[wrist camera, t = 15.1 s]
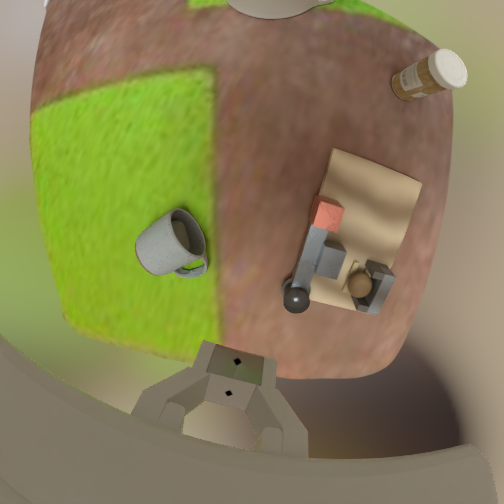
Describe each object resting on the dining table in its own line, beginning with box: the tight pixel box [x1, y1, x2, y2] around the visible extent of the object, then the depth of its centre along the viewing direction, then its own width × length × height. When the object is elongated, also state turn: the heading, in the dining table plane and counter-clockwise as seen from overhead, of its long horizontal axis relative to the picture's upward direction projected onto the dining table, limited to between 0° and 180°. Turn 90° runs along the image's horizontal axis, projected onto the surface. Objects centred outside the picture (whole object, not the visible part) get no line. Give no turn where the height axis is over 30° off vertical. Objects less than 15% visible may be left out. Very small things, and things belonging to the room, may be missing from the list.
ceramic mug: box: [135, 208, 208, 278], centre depth 37 cm, size 11×8×8 cm
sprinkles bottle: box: [391, 48, 468, 101], centre depth 22 cm, size 5×5×13 cm
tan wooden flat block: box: [281, 148, 422, 315], centre depth 35 cm, size 23×15×6 cm, turn 167°
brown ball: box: [347, 272, 372, 298], centre depth 36 cm, size 4×4×4 cm
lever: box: [284, 194, 347, 313], centre depth 35 cm, size 16×6×5 cm, turn 168°
